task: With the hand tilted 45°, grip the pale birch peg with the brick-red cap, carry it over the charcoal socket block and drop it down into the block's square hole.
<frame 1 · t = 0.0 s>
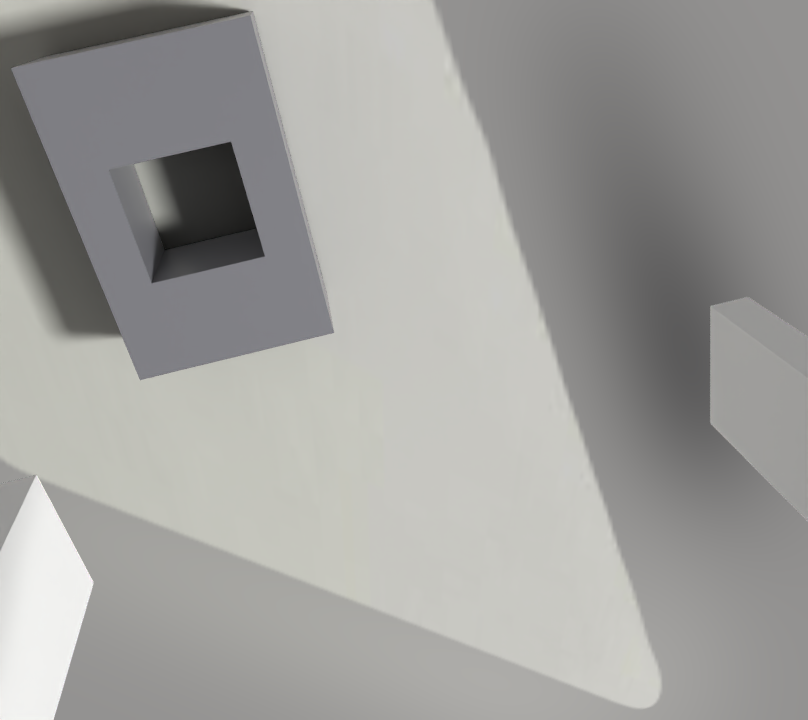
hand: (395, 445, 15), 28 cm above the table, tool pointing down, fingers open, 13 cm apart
socket block: (199, 188, 39), on the table
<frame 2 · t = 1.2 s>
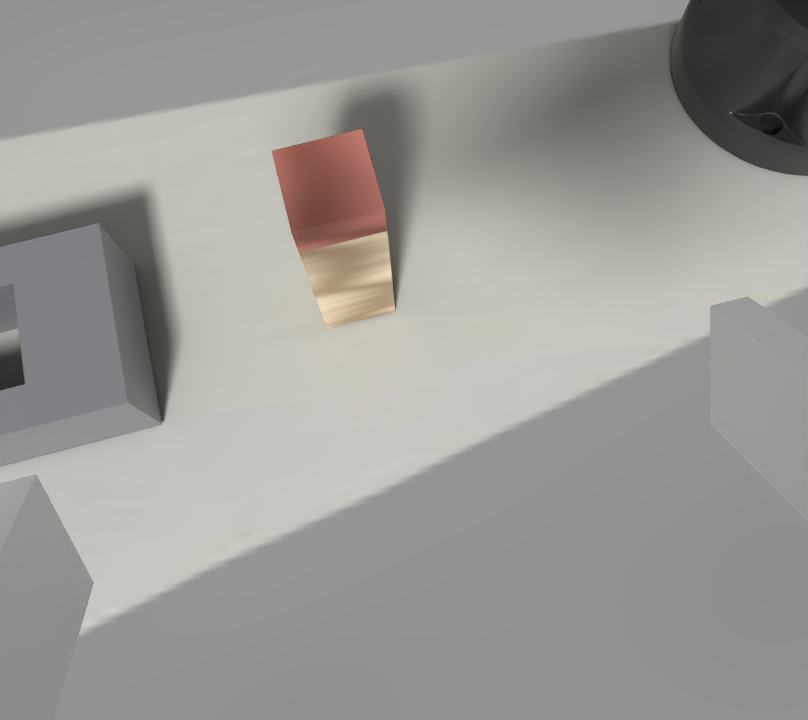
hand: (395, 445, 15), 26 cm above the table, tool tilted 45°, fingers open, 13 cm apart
socket block: (16, 374, 42), on the table
plug peg: (352, 288, 43), on the table
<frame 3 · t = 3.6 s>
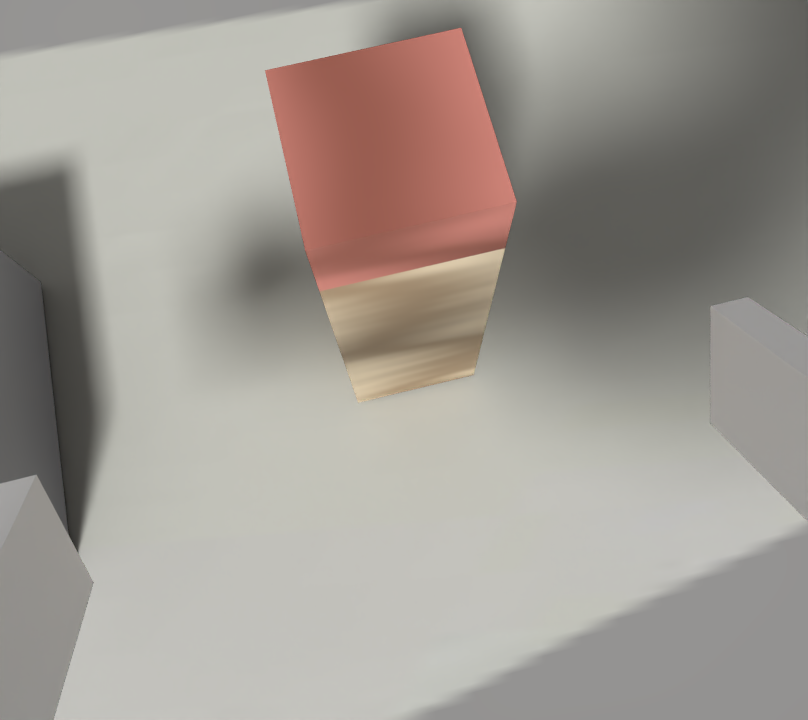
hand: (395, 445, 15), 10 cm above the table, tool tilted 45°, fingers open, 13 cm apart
plug peg: (402, 334, 26), on the table
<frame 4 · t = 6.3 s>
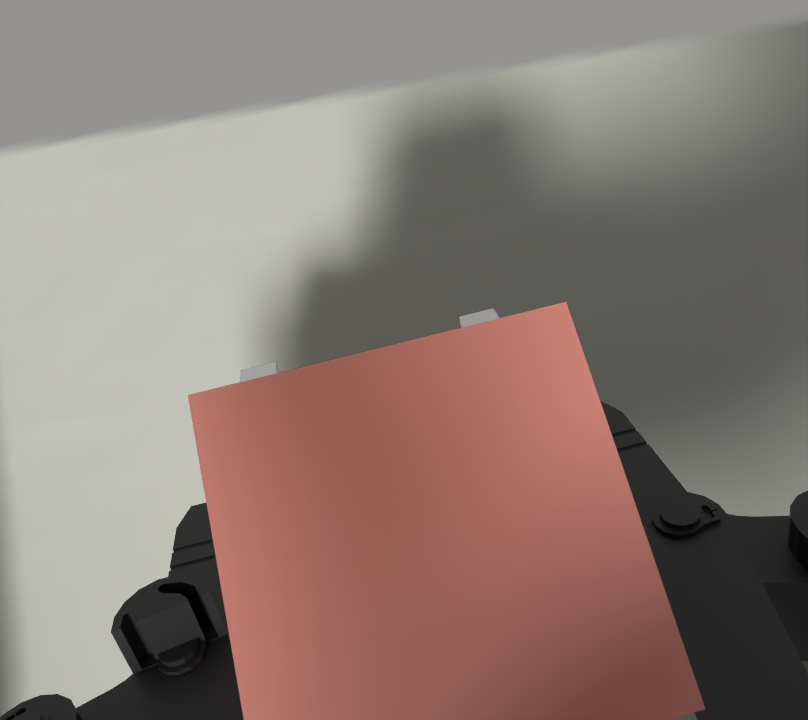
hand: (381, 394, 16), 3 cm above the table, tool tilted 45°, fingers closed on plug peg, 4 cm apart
plug peg: (424, 572, 19), on the table, touching gripper
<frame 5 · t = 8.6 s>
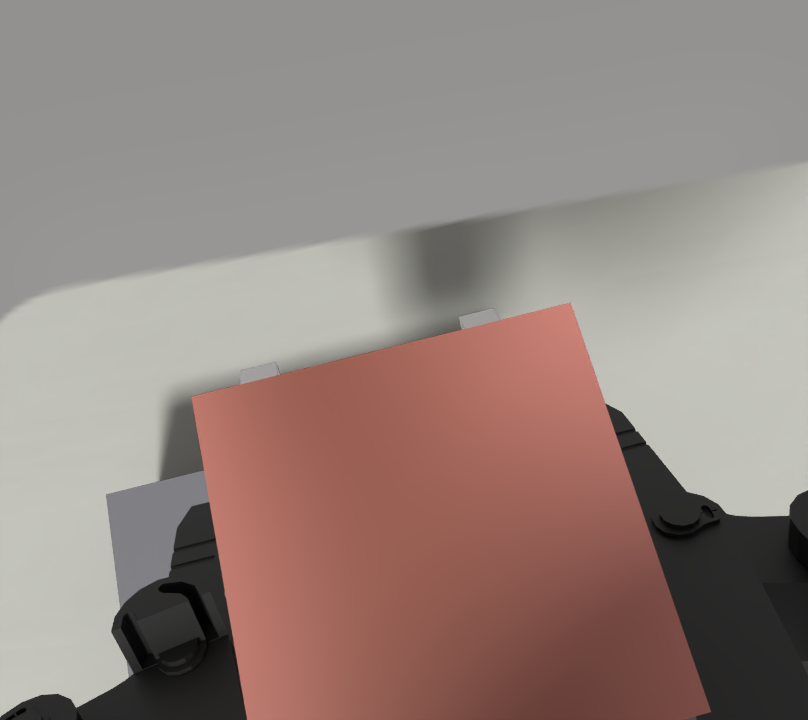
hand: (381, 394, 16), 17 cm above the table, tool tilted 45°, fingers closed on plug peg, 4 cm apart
socket block: (345, 581, 32), on the table
plug peg: (426, 573, 19), point 13 cm above the table, touching gripper
when the fingers open (7 cm above the table, at t = 11.2 s): plug peg drops 4 cm, resting in socket block.
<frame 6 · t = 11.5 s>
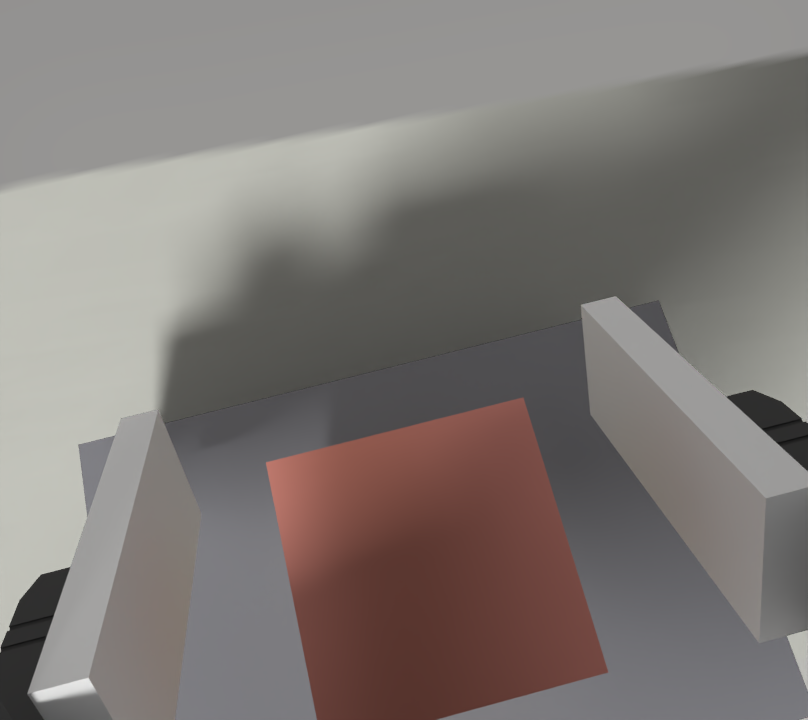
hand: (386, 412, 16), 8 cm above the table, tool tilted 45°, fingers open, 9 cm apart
socket block: (424, 575, 22), on the table
plug peg: (425, 577, 22), resting in socket block
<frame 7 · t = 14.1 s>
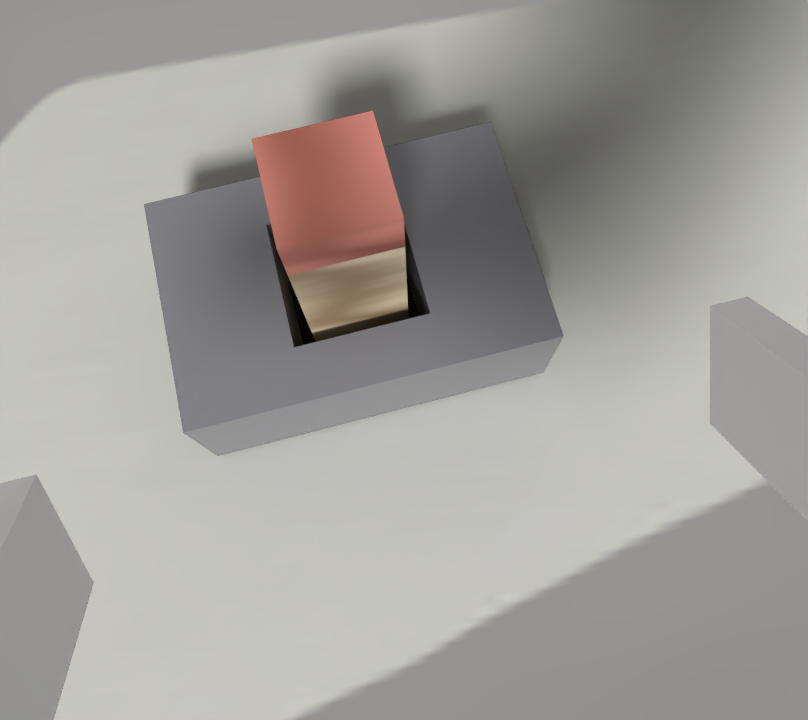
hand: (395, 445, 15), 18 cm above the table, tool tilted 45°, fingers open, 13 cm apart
socket block: (356, 312, 35), on the table
plug peg: (357, 313, 35), resting in socket block
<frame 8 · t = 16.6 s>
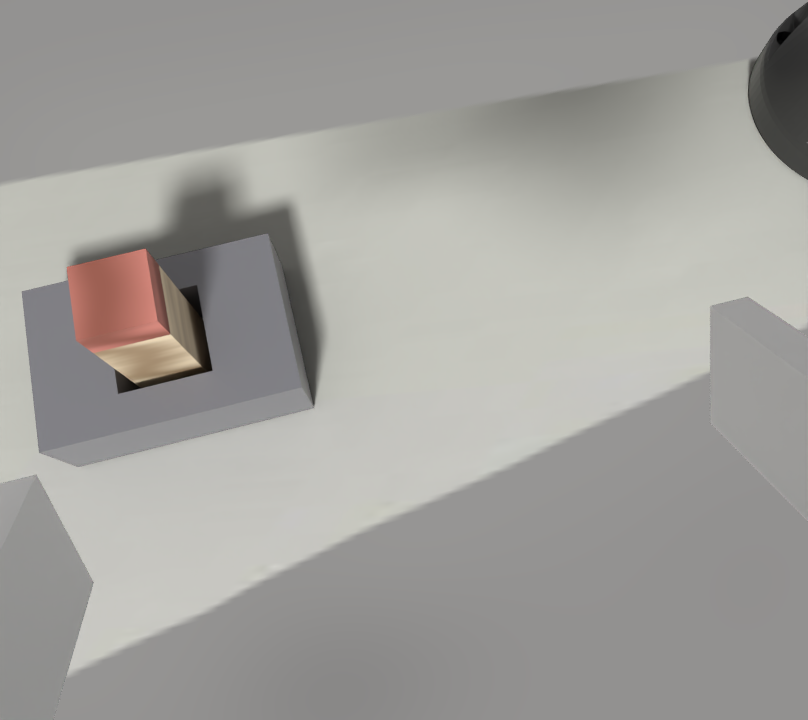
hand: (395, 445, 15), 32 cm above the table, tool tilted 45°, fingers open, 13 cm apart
socket block: (184, 363, 49), on the table
plug peg: (184, 364, 49), resting in socket block
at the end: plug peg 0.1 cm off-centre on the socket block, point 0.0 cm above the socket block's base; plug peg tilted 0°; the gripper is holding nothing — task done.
